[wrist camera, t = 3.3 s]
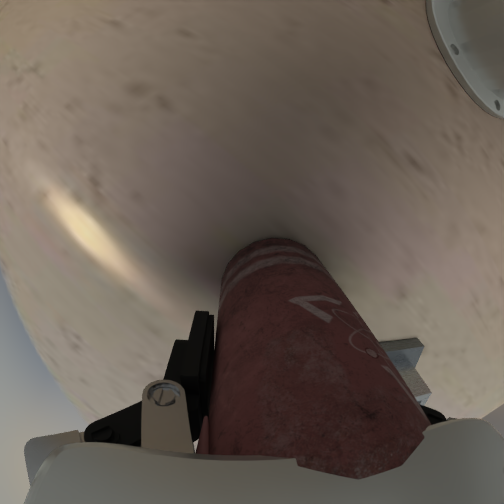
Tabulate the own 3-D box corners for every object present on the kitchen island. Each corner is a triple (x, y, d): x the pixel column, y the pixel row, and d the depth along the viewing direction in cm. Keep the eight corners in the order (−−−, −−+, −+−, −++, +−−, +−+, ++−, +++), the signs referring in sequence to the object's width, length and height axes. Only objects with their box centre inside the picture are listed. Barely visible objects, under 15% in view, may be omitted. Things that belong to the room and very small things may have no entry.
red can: (220, 230, 16) (173, 509, 2) (330, 240, 16) (503, 436, 3) (215, 323, 17) (197, 552, 4) (311, 328, 18) (387, 529, 5)
